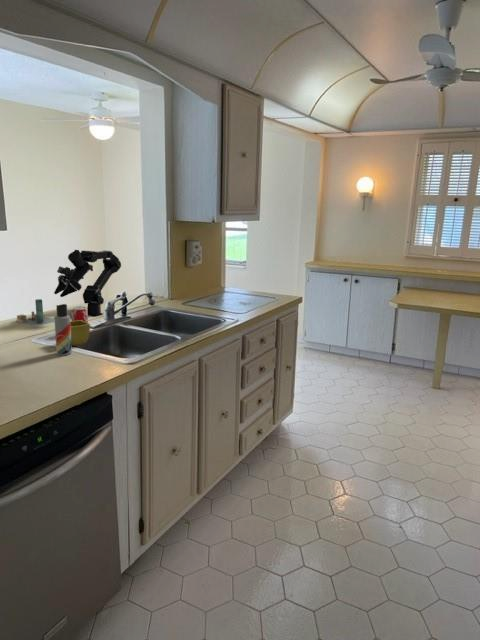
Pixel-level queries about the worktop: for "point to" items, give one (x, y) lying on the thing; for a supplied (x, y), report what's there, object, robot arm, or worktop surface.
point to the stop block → (21, 318)
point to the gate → (38, 311)
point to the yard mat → (34, 323)
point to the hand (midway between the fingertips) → (57, 295)
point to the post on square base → (31, 317)
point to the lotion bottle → (63, 331)
